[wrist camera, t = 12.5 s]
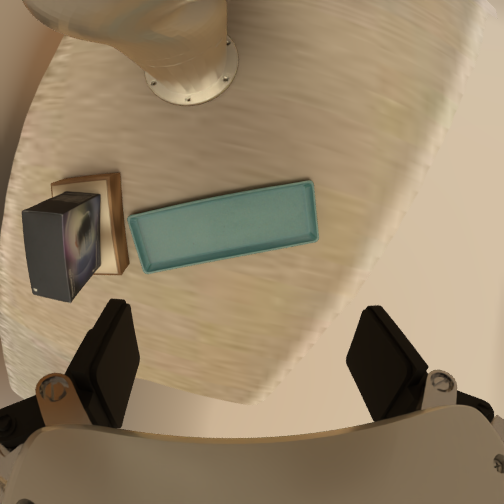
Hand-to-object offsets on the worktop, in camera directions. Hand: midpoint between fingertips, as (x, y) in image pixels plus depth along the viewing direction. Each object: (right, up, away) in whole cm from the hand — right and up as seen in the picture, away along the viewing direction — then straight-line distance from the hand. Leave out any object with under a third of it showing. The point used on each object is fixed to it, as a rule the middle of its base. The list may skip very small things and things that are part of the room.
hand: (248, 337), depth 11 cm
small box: (-23, +7, +23) cm, 33 cm away
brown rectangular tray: (-24, +8, +27) cm, 37 cm away
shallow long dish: (-4, +7, +30) cm, 31 cm away
